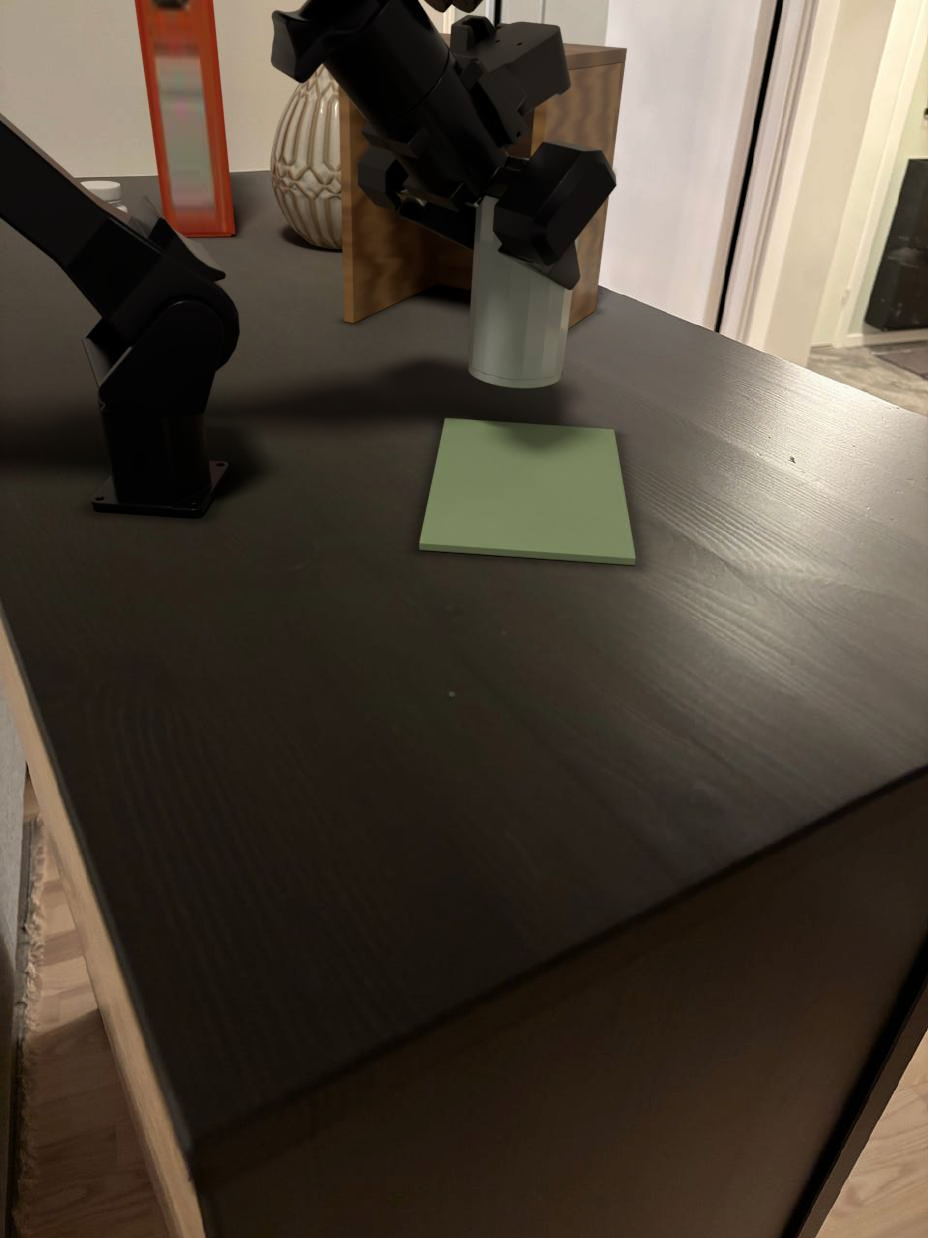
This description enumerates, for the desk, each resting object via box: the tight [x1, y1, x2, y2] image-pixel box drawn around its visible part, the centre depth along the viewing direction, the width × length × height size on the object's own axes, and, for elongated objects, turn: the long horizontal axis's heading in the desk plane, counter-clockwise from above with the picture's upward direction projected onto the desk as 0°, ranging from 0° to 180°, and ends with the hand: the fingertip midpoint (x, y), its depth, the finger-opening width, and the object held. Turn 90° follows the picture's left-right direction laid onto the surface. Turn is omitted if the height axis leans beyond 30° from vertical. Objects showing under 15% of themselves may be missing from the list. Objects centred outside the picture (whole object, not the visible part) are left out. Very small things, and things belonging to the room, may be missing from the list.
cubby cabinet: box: [338, 32, 628, 330], centre depth 83 cm, size 17×18×22 cm
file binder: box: [134, 0, 236, 238], centre depth 108 cm, size 8×17×32 cm, turn 14°
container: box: [467, 158, 579, 389], centre depth 62 cm, size 7×7×13 cm
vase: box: [269, 64, 343, 251], centre depth 106 cm, size 16×16×20 cm
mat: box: [418, 417, 637, 566], centre depth 60 cm, size 18×12×1 cm, turn 176°
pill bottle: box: [79, 180, 129, 214], centre depth 93 cm, size 5×5×8 cm
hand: (539, 271), depth 63 cm, fingers closed on container, 6 cm apart
